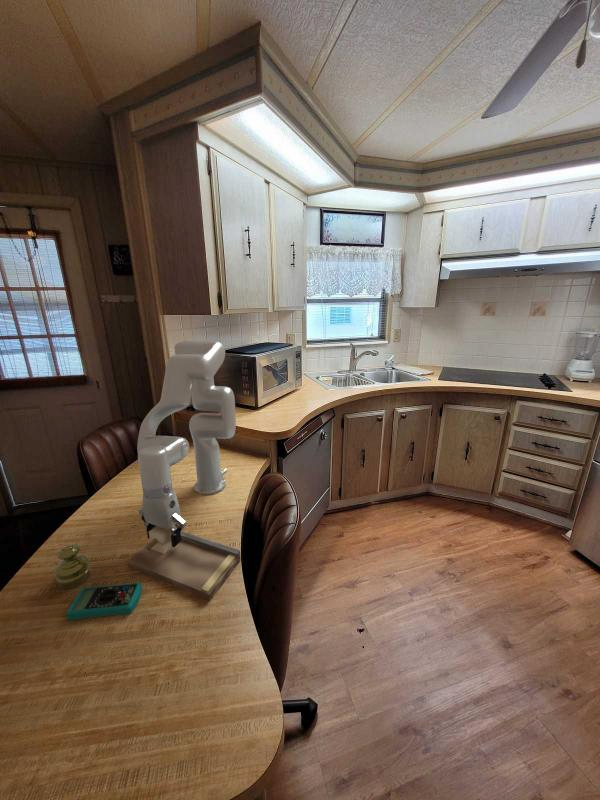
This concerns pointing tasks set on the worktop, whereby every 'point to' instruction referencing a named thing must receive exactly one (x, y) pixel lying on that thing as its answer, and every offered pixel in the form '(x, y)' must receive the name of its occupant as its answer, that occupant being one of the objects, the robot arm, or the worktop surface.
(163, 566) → the board
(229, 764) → the worktop surface
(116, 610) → the digital multimeter
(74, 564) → the brass pawn finial
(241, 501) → the worktop surface
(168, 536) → the block with top hole
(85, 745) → the worktop surface
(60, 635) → the worktop surface
